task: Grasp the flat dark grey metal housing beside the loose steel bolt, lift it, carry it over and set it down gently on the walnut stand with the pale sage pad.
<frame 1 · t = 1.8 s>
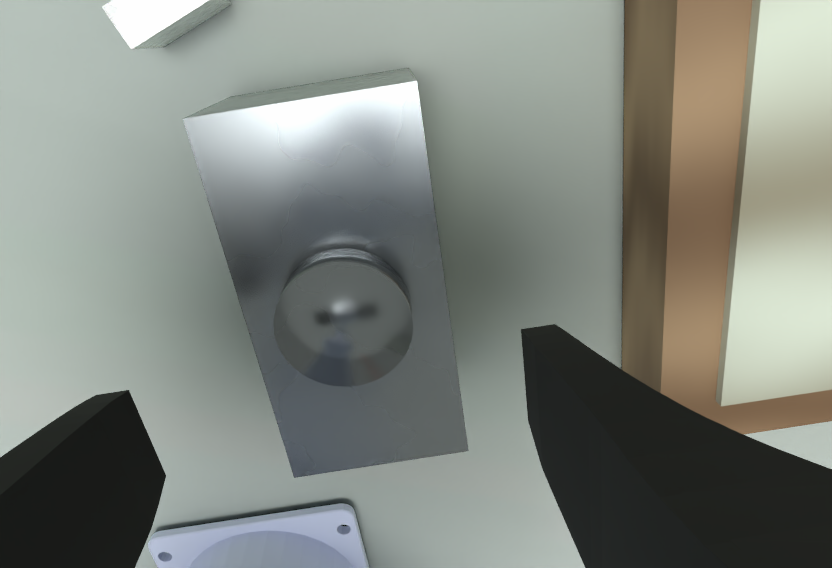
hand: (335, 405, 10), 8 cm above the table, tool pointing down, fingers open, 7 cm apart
housing: (354, 246, 18), on the table
stand: (798, 180, 18), on the table
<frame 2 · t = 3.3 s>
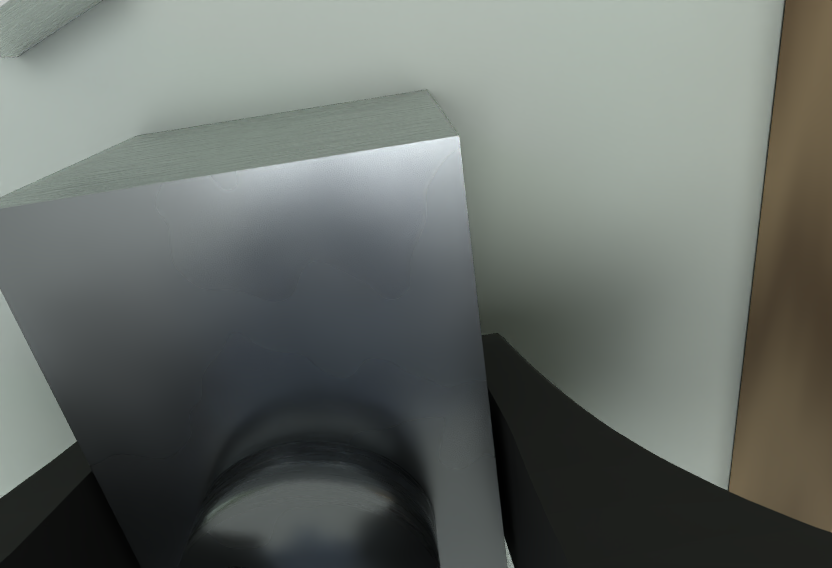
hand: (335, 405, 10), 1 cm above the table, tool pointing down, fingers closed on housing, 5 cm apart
housing: (340, 360, 12), on the table, touching gripper
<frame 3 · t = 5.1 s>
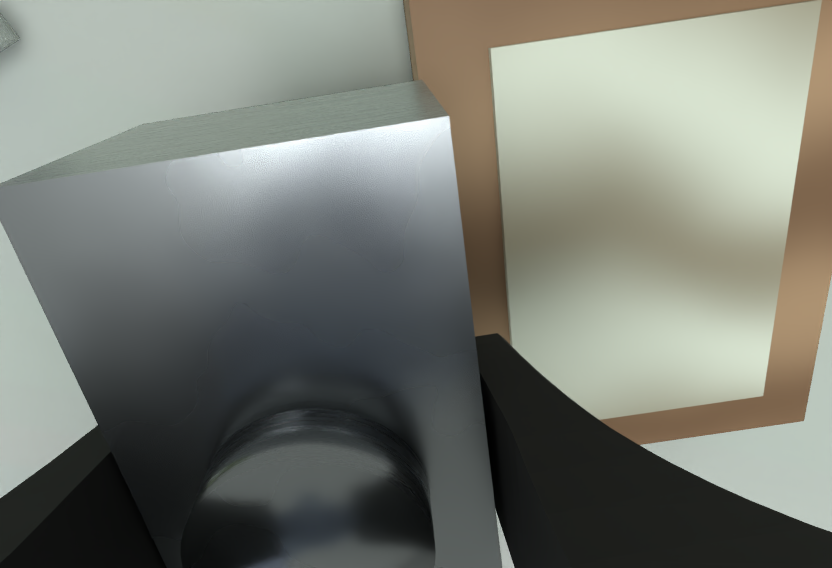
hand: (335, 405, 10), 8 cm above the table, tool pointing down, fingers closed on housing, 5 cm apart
housing: (339, 343, 12), point 7 cm above the table, touching gripper
stand: (603, 211, 18), on the table
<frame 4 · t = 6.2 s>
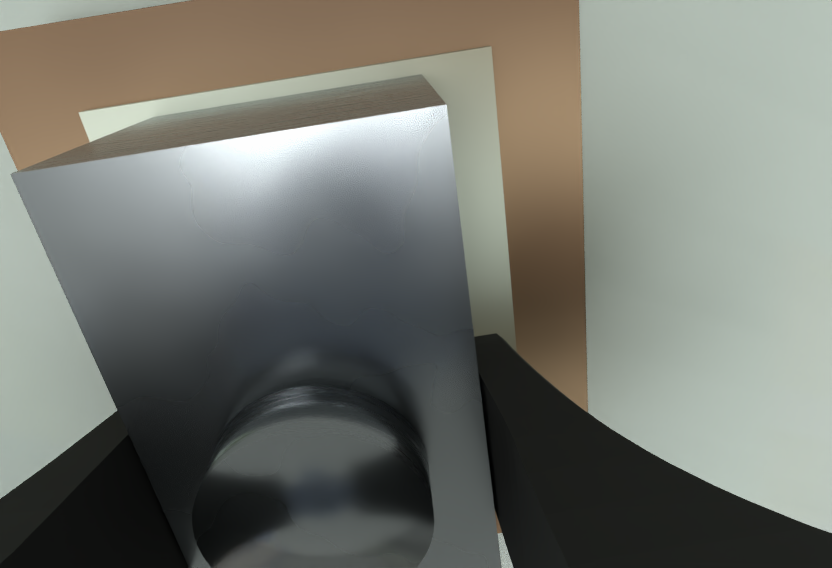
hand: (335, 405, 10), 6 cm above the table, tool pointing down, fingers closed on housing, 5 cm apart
housing: (341, 330, 12), point 3 cm above the table, touching gripper, stand
stand: (351, 278, 16), on the table
when the fingers open (6 cm above the table, at t = 7.0 s): housing stays where it is, resting on stand.
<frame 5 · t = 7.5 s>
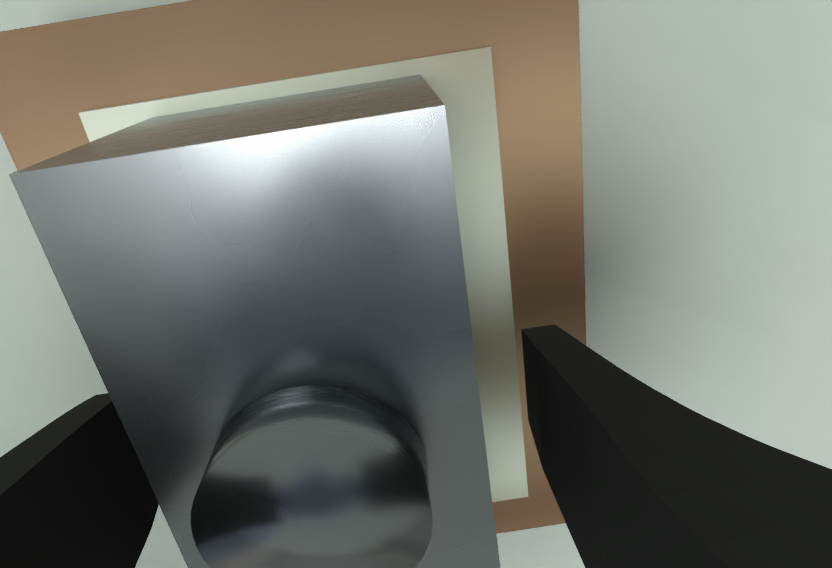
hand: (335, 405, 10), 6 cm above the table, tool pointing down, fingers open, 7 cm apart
housing: (340, 330, 12), point 3 cm above the table, touching stand
stand: (351, 278, 16), on the table
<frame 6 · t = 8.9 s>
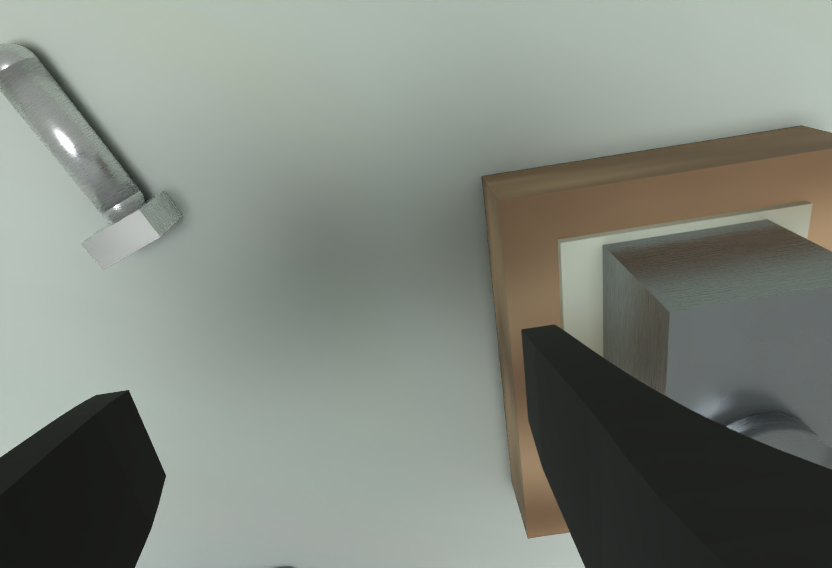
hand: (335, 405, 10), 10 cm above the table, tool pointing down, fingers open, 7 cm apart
housing: (676, 370, 19), point 3 cm above the table, touching stand
loose bolt: (90, 146, 18), on the table
stand: (637, 328, 22), on the table
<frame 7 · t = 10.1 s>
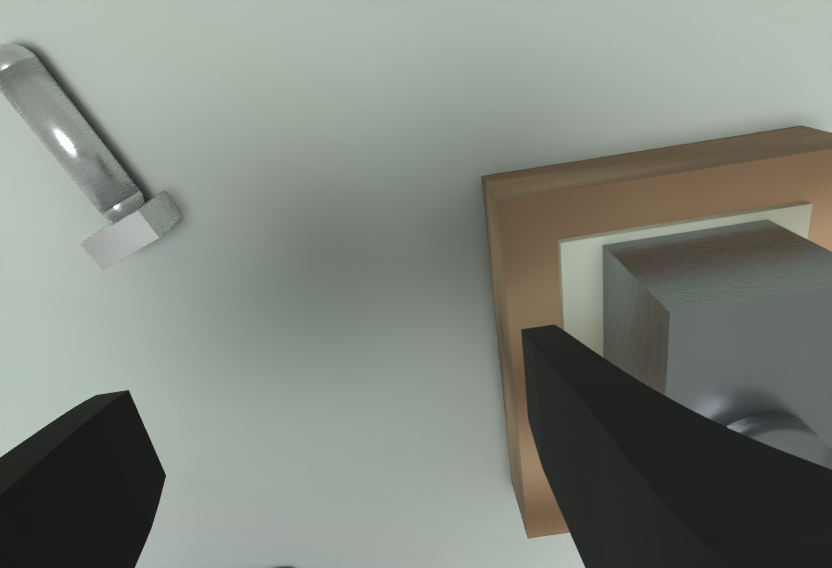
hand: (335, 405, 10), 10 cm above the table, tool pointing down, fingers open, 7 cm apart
housing: (676, 370, 19), point 3 cm above the table, touching stand
loose bolt: (90, 146, 18), on the table
stand: (637, 328, 22), on the table
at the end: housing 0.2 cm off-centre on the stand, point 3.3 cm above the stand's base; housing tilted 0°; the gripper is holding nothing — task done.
